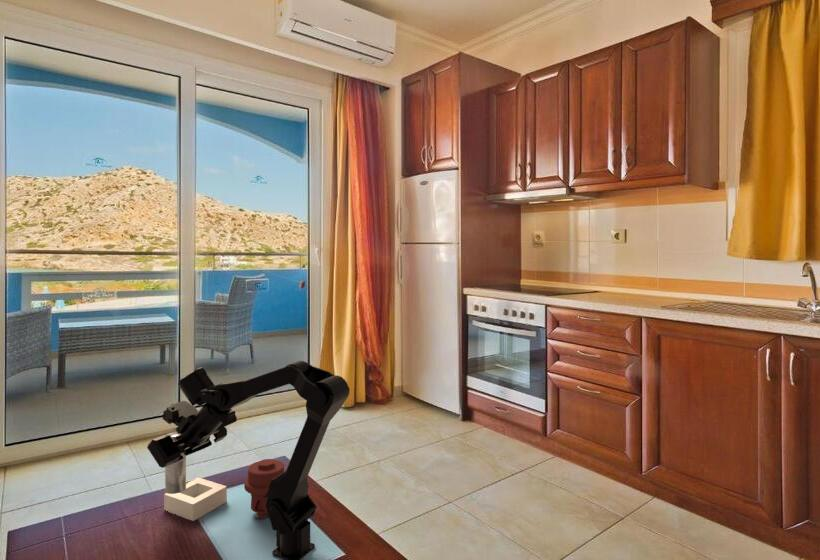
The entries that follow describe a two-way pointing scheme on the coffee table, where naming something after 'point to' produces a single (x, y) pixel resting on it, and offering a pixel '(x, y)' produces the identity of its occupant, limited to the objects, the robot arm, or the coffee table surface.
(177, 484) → the cylinder
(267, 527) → the coffee table surface
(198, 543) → the coffee table surface
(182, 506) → the docking block
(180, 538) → the coffee table surface
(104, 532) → the coffee table surface
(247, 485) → the mechanical component
